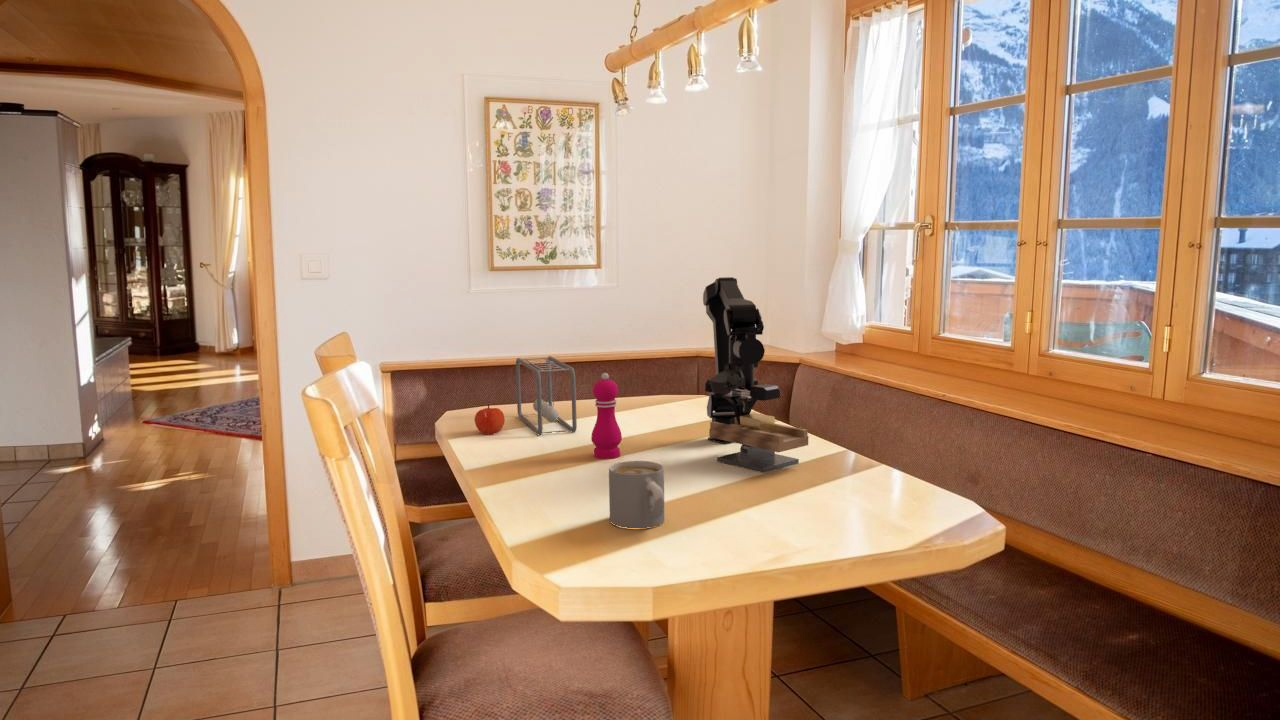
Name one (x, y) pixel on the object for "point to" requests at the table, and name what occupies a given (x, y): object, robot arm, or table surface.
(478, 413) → the apple
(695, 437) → the table surface
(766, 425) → the tan wooden block
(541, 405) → the newton's cradle
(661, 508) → the coffee mug
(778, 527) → the table surface
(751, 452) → the fulcrum stand
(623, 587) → the table surface
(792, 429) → the wooden tray
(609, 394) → the pepper mill
